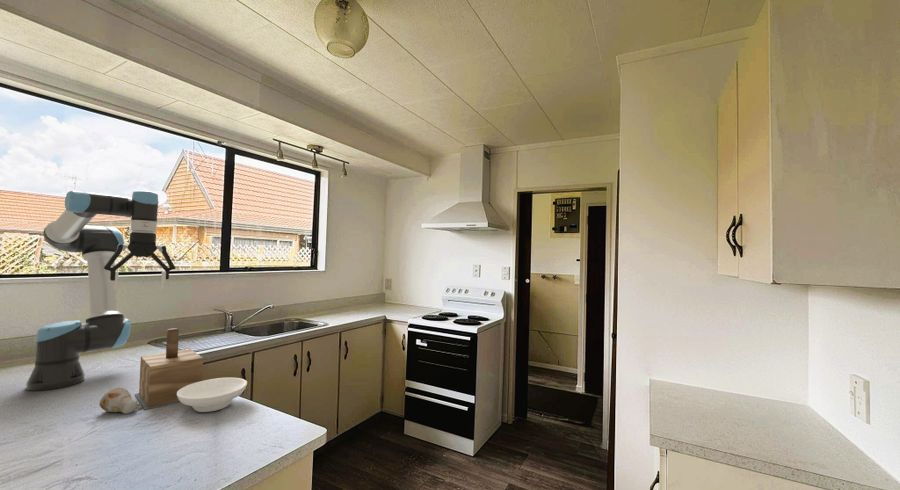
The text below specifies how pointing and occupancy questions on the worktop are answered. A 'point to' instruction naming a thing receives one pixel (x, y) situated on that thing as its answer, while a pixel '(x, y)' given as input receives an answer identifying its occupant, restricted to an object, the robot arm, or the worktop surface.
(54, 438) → the worktop surface
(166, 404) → the mat
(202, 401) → the bowl
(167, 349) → the wooden block with knob
